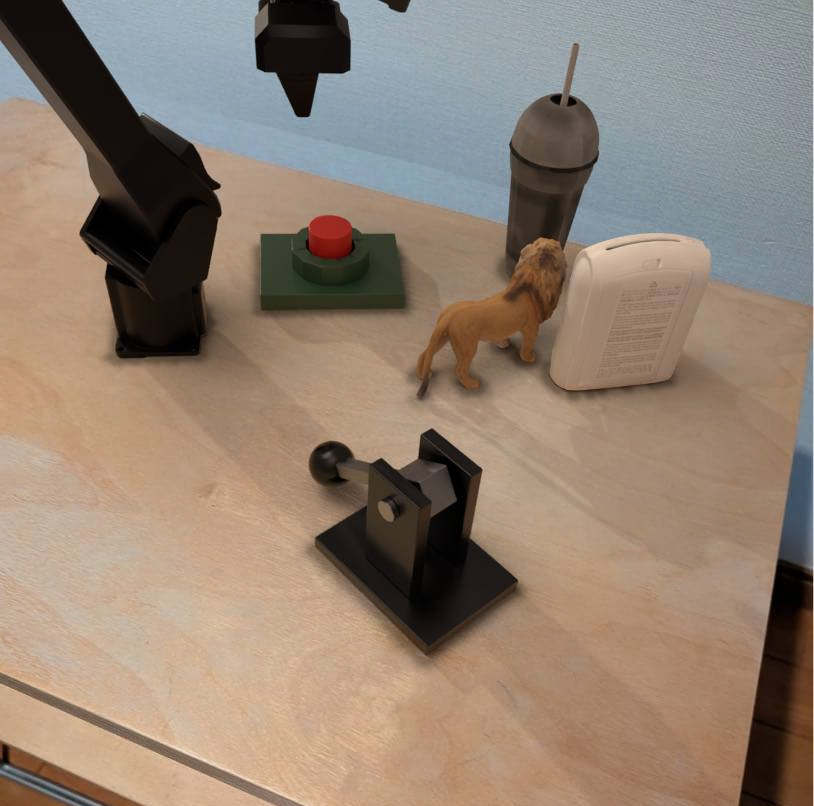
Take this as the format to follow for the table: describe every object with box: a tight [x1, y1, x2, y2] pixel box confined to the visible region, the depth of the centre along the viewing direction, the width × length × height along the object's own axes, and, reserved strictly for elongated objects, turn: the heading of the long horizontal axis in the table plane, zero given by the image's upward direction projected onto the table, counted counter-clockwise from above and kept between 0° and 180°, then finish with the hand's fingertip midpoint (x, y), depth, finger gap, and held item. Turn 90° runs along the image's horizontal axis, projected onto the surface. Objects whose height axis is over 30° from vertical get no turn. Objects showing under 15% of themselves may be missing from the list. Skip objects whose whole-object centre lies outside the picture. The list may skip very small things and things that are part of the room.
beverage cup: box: [504, 42, 600, 279], centre depth 74 cm, size 7×7×20 cm
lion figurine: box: [415, 238, 569, 398], centre depth 70 cm, size 15×5×9 cm, turn 134°
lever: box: [308, 440, 457, 518], centre depth 58 cm, size 13×3×3 cm, turn 42°
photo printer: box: [549, 232, 712, 391], centre depth 69 cm, size 10×4×12 cm, turn 103°
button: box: [308, 214, 353, 259], centre depth 76 cm, size 4×4×2 cm
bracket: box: [314, 427, 519, 656], centre depth 56 cm, size 11×8×10 cm
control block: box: [259, 225, 406, 311], centre depth 78 cm, size 12×9×4 cm
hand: (302, 115), depth 71 cm, fingers closed
